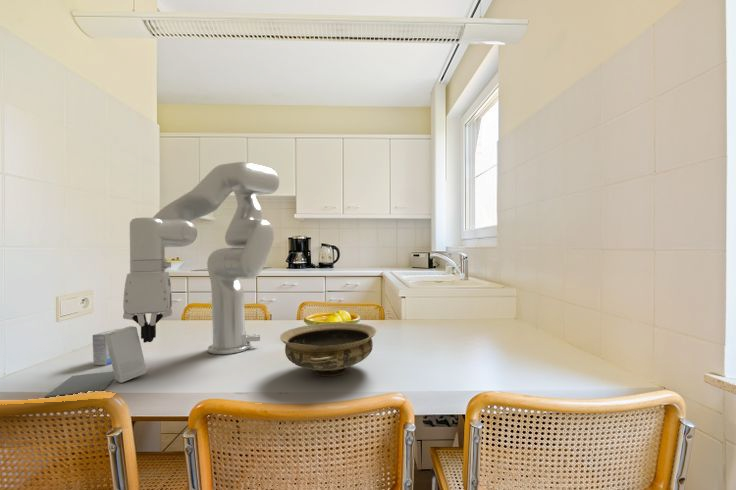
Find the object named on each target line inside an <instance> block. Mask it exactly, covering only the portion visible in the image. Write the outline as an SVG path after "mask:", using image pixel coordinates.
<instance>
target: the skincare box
mask: <svg viewBox="0 0 736 490" xmlns="http://www.w3.org/2000/svg"><path fill="white" fill-rule="evenodd" d="M118 329H119V330H116V331H113V332H109V333H106V334H104V335H105V340H106V343H107V347H108V351H109V355H110V359H111V363H112V364H111V367H112V371H114V375H115V380H116V382H118V383H121V384H122V383H124V382H127V381H129V380H131V379H134V378H136V377H139V376H142V375H145V374H147V372H148V371H147V366H146V363H145V362H146V361H145V358H144V354H143V350H142V345H141V341H140V335H139V333H138V329H137V326H133V325H129V326H125V327H124V328H118Z"/></svg>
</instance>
